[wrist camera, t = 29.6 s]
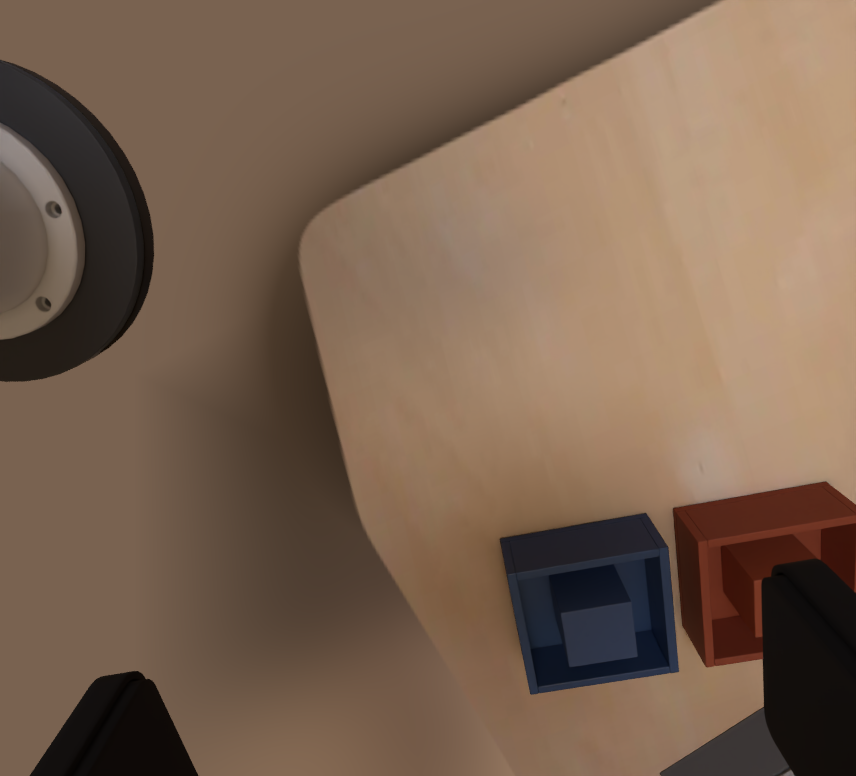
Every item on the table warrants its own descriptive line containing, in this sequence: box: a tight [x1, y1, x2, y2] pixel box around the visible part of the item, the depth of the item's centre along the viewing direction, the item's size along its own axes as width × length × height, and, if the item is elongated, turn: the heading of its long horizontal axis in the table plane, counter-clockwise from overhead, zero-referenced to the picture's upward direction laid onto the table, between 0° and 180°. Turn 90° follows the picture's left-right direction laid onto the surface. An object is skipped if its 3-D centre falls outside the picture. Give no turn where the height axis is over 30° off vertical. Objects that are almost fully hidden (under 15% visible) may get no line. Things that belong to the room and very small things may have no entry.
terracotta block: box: [721, 534, 818, 637], centre depth 39 cm, size 4×4×4 cm
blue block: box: [548, 564, 638, 667], centre depth 40 cm, size 4×4×4 cm
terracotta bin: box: [673, 482, 856, 667], centre depth 40 cm, size 10×10×4 cm
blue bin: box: [500, 513, 679, 695], centre depth 40 cm, size 10×10×4 cm
